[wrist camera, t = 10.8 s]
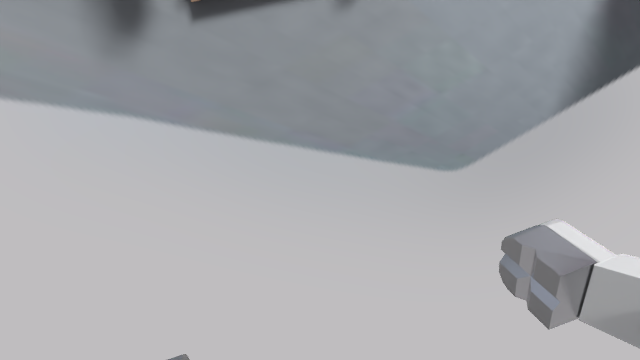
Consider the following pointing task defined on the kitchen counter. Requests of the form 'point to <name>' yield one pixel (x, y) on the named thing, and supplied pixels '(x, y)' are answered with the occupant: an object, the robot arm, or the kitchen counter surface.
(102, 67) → the kitchen counter surface
